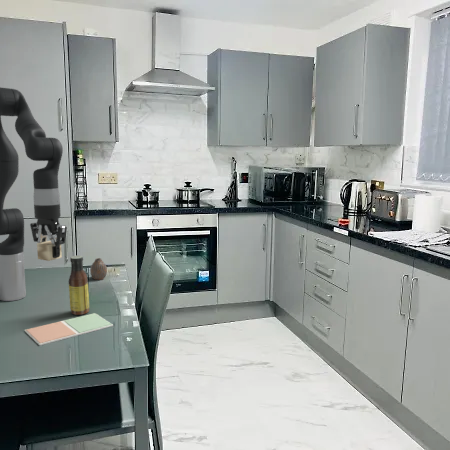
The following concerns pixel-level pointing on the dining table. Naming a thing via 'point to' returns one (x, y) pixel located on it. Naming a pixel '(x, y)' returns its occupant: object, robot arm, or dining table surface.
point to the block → (46, 251)
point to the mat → (67, 328)
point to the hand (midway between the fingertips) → (49, 256)
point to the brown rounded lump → (98, 269)
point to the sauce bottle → (78, 287)
